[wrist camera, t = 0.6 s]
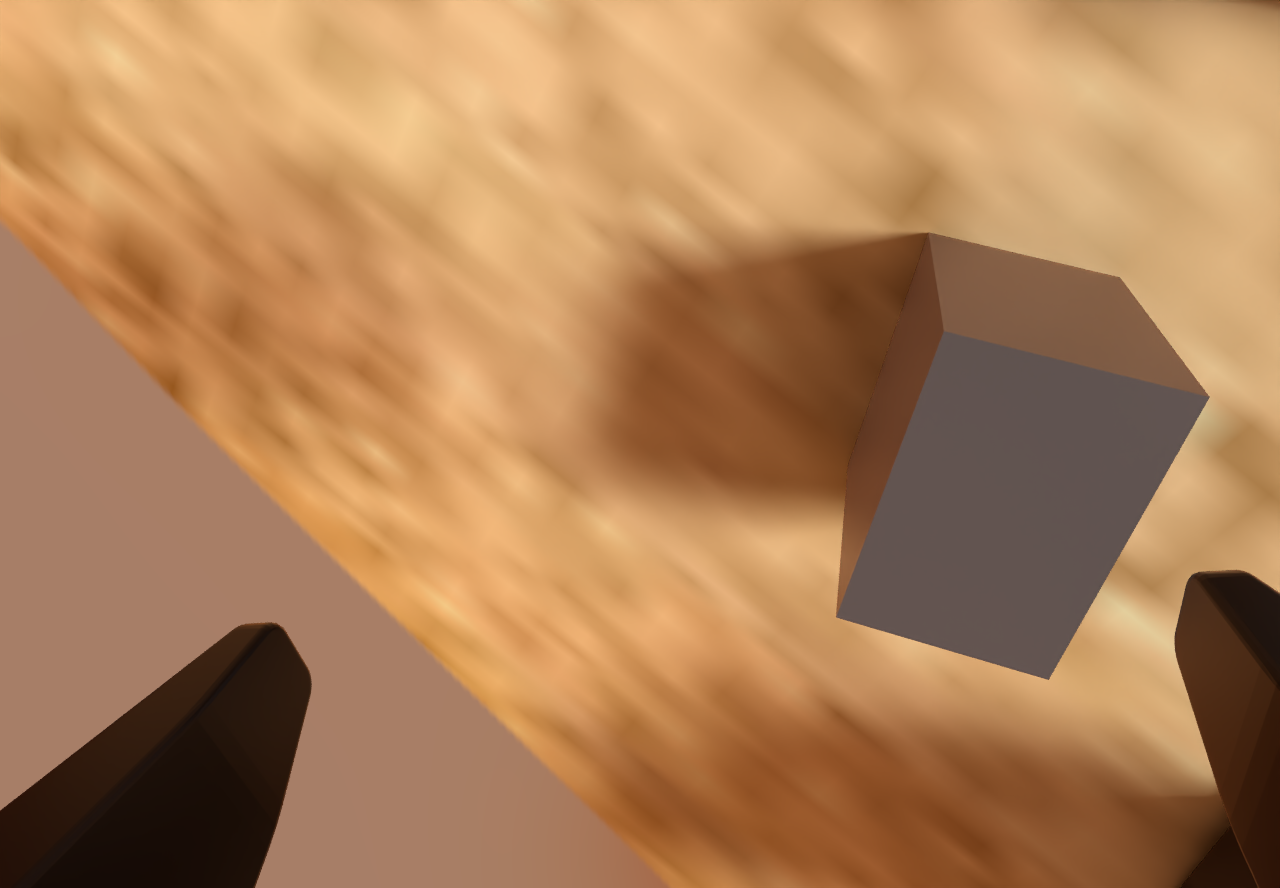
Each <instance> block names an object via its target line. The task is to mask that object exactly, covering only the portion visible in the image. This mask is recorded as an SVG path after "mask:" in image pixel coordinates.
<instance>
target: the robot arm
mask: <svg viewBox="0 0 1280 888" xmlns="http://www.w3.org/2000/svg"><path fill="white" fill-rule="evenodd" d="M1175 652H1176V658H1177V661H1178V665H1179V668H1180V671H1181V674H1182V677H1183V680H1184V684H1185V687H1186V690H1187V693H1188V696H1189V699H1190V702H1191V706H1192V709H1193V712H1194V715H1195V718H1196V721H1197V724H1198V727H1199V731H1200V734H1201V737H1202V740H1203V743H1204V746H1205V749H1206V752H1207V756H1208V759H1209V762H1210V765H1211V768H1212V771H1213V774H1214V778H1215V781H1216V784H1217V787H1218V790H1219V793H1220V796H1221V799H1222V802H1223V805H1224V808H1225V811H1226V814H1227V816H1228V819H1229V822H1230V825H1231V826H1230V827H1229V829H1228V830H1227V831H1226V832H1225V834H1224V835H1223V836H1222V837H1221V838H1220V840H1219V841H1218V842H1217V843H1216V845H1215V846H1214V847H1213V848H1212V850H1211V851H1210V852H1209V853H1208V854H1207V856H1206V857H1205V858H1204V859H1203V861H1202V862H1201V863H1200V864H1199V865H1198V867H1197V868H1196V869H1195V870H1194V872H1193V873H1192V874H1191V875H1190V877H1189V878H1188V879H1187V880H1186V882H1185V883H1184V884H1183V885H1182V886H1181V888H1280V593H1279V592H1277V591H1276V590H1274V589H1273V588H1271V587H1270V586H1268V585H1267V584H1265V583H1264V582H1262V581H1261V580H1260V579H1258V578H1257V577H1255V576H1253V575H1252V574H1250V573H1247V572H1245V571H1241V570H1226V571H1207V572H1198V573H1195V574H1193V575H1192V576H1191V577H1190V578H1189V579H1188V582H1187V584H1186V588H1185V592H1184V597H1183V601H1182V605H1181V610H1180V614H1179V619H1178V623H1177V627H1176V632H1175ZM311 685H312V684H311V675H310V672H309V670H308V667H307V666H306V664H305V662H304V661H303V659H302V658H301V656H300V654H299V652H298V651H297V650H296V647H295V646H294V644H293V643H292V641H291V639H290V638H289V636H288V634H287V632H286V631H285V630H284V628H283V627H281V626H280V625H278V624H277V623H272V622H271V623H251V624H244V625H240V626H238V627H237V628H235V629H234V630H232V631H231V632H229V633H228V634H227V635H226V636H224V637H223V638H222V639H221V640H219V641H218V642H217V643H216V644H214V645H213V646H212V647H210V648H209V649H208V650H206V651H205V652H204V653H202V654H201V655H200V656H199V657H197V658H196V659H195V660H193V661H192V662H191V663H190V664H188V665H187V666H186V667H184V668H183V669H182V670H181V671H179V672H178V673H177V674H175V675H174V676H173V677H172V678H170V679H169V680H168V681H166V682H165V683H164V684H163V685H161V686H160V687H159V688H157V689H156V690H155V691H154V692H152V693H151V694H150V695H148V696H147V697H146V698H145V699H143V700H142V701H141V702H140V703H138V704H137V705H136V706H134V707H133V708H132V709H130V710H129V711H128V712H127V713H125V714H124V715H123V716H121V717H120V718H119V719H118V720H116V721H115V722H114V723H112V724H111V725H110V726H109V727H107V728H106V729H105V730H103V731H102V732H101V733H100V734H98V735H97V736H96V737H94V738H93V739H92V740H90V741H89V742H88V743H87V744H85V745H84V746H83V747H81V748H80V749H79V750H78V751H76V752H75V753H74V754H72V755H71V756H70V757H69V758H67V759H66V760H65V761H63V762H62V763H61V764H60V765H58V766H57V767H56V768H54V769H53V770H52V771H51V772H49V773H48V774H47V775H45V776H44V777H43V778H42V779H40V780H39V781H38V782H36V783H35V784H34V785H33V786H31V787H30V788H29V789H27V790H26V791H25V792H24V793H22V794H21V795H20V796H18V797H17V798H16V799H15V800H13V801H12V802H11V803H9V804H8V805H7V806H6V807H4V808H3V809H2V810H0V888H255V886H256V883H257V880H258V878H259V875H260V872H261V869H262V866H263V864H264V861H265V858H266V856H267V852H268V850H269V847H270V844H271V841H272V838H273V835H274V832H275V829H276V826H277V823H278V819H279V816H280V812H281V809H282V805H283V801H284V797H285V793H286V790H287V786H288V782H289V778H290V774H291V770H292V766H293V762H294V758H295V754H296V750H297V746H298V742H299V738H300V734H301V730H302V726H303V722H304V719H305V714H306V710H307V706H308V702H309V699H310V694H311Z"/></svg>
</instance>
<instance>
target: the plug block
mask: <svg viewBox="0 0 1280 888" xmlns="http://www.w3.org/2000/svg"><path fill="white" fill-rule="evenodd" d="M1208 399H1209V396H1208V394H1207V393H1206V392H1205V390H1204V389H1203V388H1202V386H1201V385H1200V384H1199V382H1198V381H1197V380H1196V378H1195V377H1194V376H1193V374H1192V373H1191V372H1190V370H1189V369H1188V368H1187V366H1186V365H1185V364H1184V362H1183V361H1182V360H1181V358H1180V357H1179V356H1178V354H1177V353H1176V352H1175V350H1174V349H1173V348H1172V346H1171V345H1170V344H1169V342H1168V341H1167V340H1166V338H1165V337H1164V336H1163V334H1162V333H1161V332H1160V330H1159V329H1158V328H1157V326H1156V325H1155V324H1154V322H1153V321H1152V320H1151V318H1150V317H1149V316H1148V314H1147V313H1146V312H1145V310H1144V309H1143V308H1142V306H1141V305H1140V304H1139V302H1138V301H1137V300H1136V298H1135V297H1134V296H1133V294H1132V293H1131V292H1130V290H1129V289H1128V288H1127V286H1126V285H1125V284H1124V282H1123V281H1122V280H1121V278H1119V277H1115V276H1111V275H1107V274H1102V273H1098V272H1094V271H1090V270H1085V269H1081V268H1077V267H1073V266H1068V265H1064V264H1060V263H1056V262H1051V261H1047V260H1043V259H1039V258H1034V257H1030V256H1026V255H1022V254H1017V253H1013V252H1009V251H1005V250H1000V249H996V248H992V247H988V246H984V245H979V244H975V243H971V242H967V241H962V240H958V239H954V238H950V237H945V236H941V235H937V234H933V233H928V236H927V239H926V241H925V244H924V247H923V250H922V253H921V256H920V259H919V262H918V265H917V267H916V270H915V273H914V276H913V279H912V282H911V285H910V288H909V291H908V293H907V296H906V299H905V302H904V305H903V308H902V311H901V314H900V317H899V319H898V322H897V325H896V328H895V331H894V334H893V337H892V340H891V343H890V345H889V348H888V351H887V354H886V357H885V360H884V363H883V366H882V369H881V371H880V374H879V377H878V380H877V383H876V386H875V389H874V392H873V395H872V397H871V400H870V403H869V406H868V409H867V412H866V415H865V418H864V421H863V423H862V426H861V429H860V432H859V435H858V438H857V441H856V444H855V447H854V449H853V452H852V455H851V458H850V461H849V464H848V470H847V483H846V496H845V508H844V521H843V534H842V547H841V560H840V573H839V585H838V598H837V611H836V617H837V618H840V619H844V620H847V621H850V622H854V623H857V624H861V625H864V626H867V627H871V628H874V629H878V630H881V631H884V632H888V633H891V634H895V635H898V636H901V637H905V638H908V639H912V640H915V641H918V642H922V643H925V644H929V645H932V646H935V647H939V648H942V649H946V650H949V651H952V652H956V653H959V654H963V655H966V656H969V657H973V658H976V659H980V660H983V661H986V662H990V663H993V664H997V665H1000V666H1003V667H1007V668H1010V669H1014V670H1017V671H1020V672H1024V673H1027V674H1031V675H1034V676H1037V677H1041V678H1044V679H1048V680H1049V678H1050V676H1051V675H1052V673H1053V671H1054V669H1055V668H1056V666H1057V664H1058V662H1059V661H1060V659H1061V657H1062V655H1063V654H1064V652H1065V650H1066V648H1067V647H1068V645H1069V643H1070V641H1071V640H1072V638H1073V636H1074V634H1075V632H1076V631H1077V629H1078V627H1079V625H1080V624H1081V622H1082V620H1083V618H1084V617H1085V615H1086V613H1087V611H1088V610H1089V608H1090V606H1091V604H1092V603H1093V601H1094V599H1095V597H1096V596H1097V594H1098V592H1099V590H1100V589H1101V587H1102V585H1103V583H1104V582H1105V580H1106V578H1107V576H1108V575H1109V573H1110V571H1111V569H1112V568H1113V566H1114V564H1115V562H1116V561H1117V559H1118V557H1119V555H1120V554H1121V552H1122V550H1123V548H1124V547H1125V545H1126V543H1127V541H1128V539H1129V538H1130V536H1131V534H1132V532H1133V531H1134V529H1135V527H1136V525H1137V524H1138V522H1139V520H1140V518H1141V517H1142V515H1143V513H1144V511H1145V510H1146V508H1147V506H1148V504H1149V503H1150V501H1151V499H1152V497H1153V496H1154V494H1155V492H1156V490H1157V489H1158V487H1159V485H1160V483H1161V482H1162V480H1163V478H1164V476H1165V475H1166V473H1167V471H1168V469H1169V468H1170V466H1171V464H1172V462H1173V461H1174V459H1175V457H1176V455H1177V454H1178V452H1179V450H1180V448H1181V446H1182V445H1183V443H1184V441H1185V439H1186V438H1187V436H1188V434H1189V432H1190V431H1191V429H1192V427H1193V425H1194V424H1195V422H1196V420H1197V418H1198V417H1199V415H1200V413H1201V411H1202V410H1203V408H1204V406H1205V404H1206V403H1207V401H1208Z"/></svg>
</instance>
